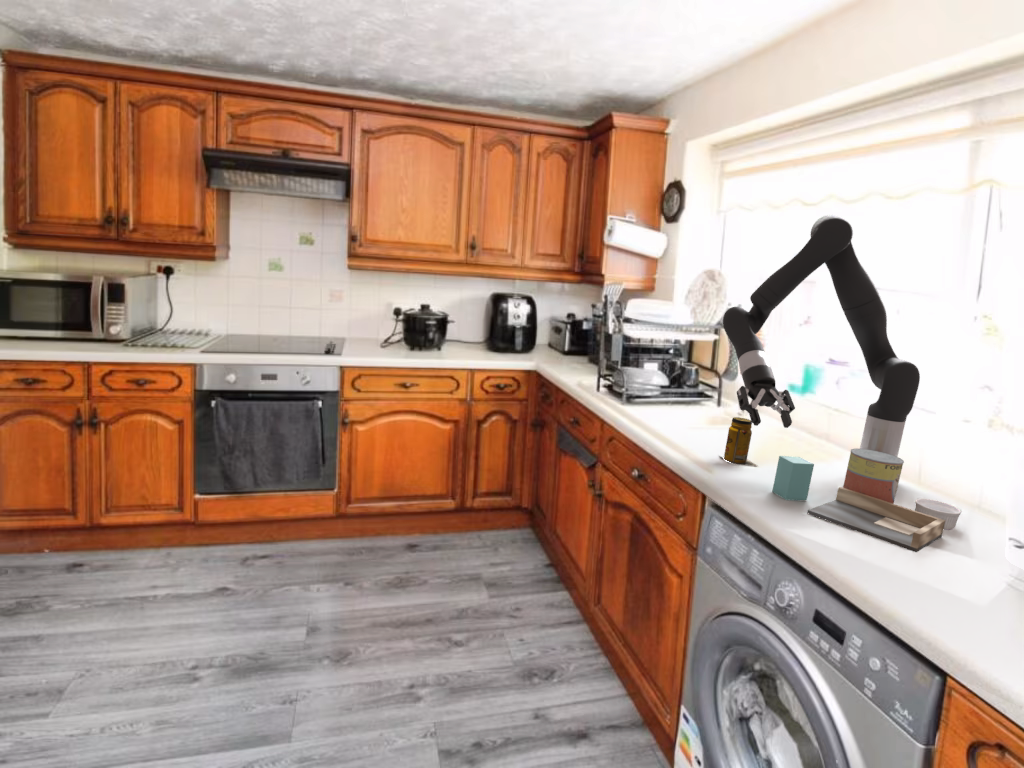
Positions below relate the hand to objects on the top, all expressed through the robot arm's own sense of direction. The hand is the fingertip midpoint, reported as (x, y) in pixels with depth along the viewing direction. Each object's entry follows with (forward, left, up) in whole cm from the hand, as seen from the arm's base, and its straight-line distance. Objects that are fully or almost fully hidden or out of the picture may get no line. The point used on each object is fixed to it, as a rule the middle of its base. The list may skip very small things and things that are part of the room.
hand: (773, 425), depth 167 cm
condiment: (-9, -12, -15) cm, 21 cm away
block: (+6, +10, -14) cm, 18 cm away
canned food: (-9, +22, -15) cm, 28 cm away
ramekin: (-11, +36, -15) cm, 40 cm away
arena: (+6, +29, -14) cm, 33 cm away
